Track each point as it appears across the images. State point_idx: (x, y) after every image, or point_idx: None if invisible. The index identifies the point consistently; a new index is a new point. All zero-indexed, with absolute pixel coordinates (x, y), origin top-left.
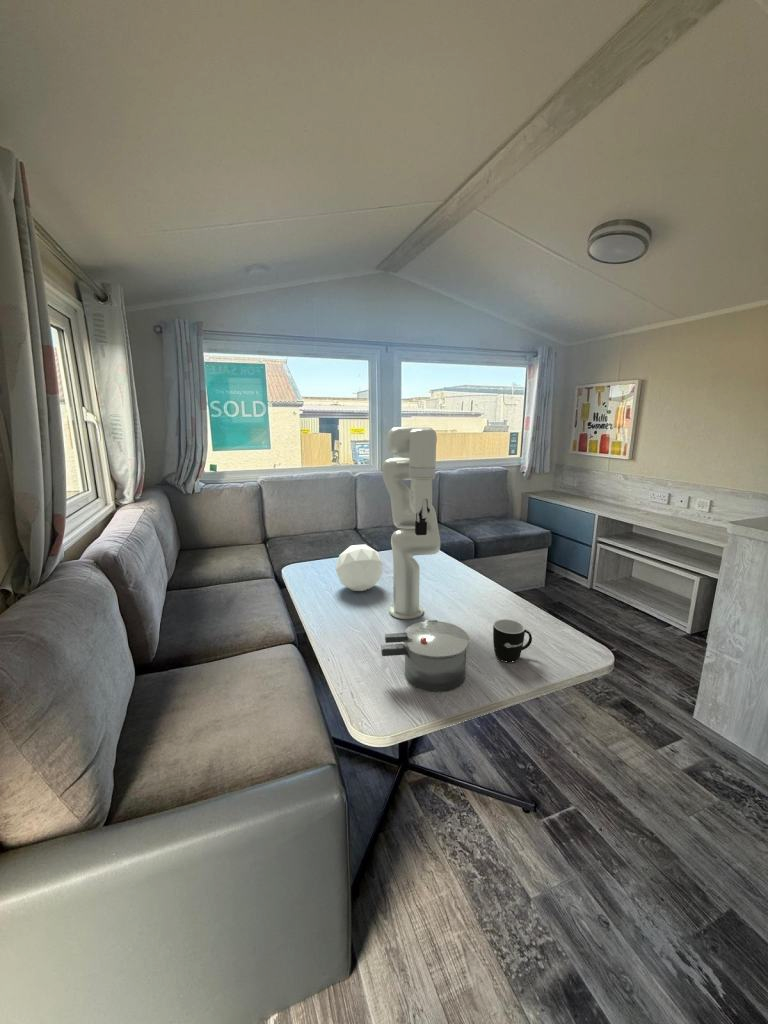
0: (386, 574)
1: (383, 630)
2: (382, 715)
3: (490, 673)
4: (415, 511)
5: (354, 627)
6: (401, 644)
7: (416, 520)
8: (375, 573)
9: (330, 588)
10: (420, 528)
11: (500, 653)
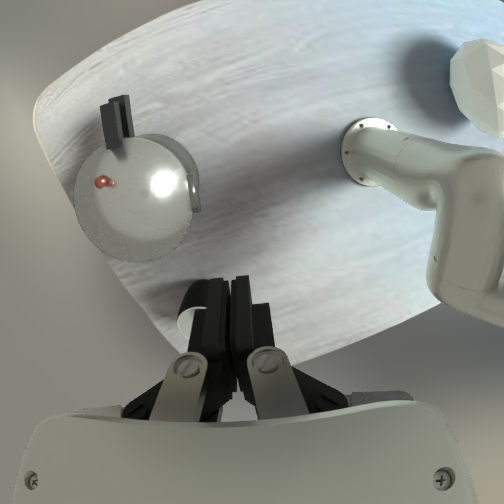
0: (501, 149)
1: (299, 96)
2: (60, 115)
3: (160, 262)
4: (35, 430)
5: (312, 42)
6: (126, 133)
7: (256, 352)
8: (471, 111)
9: (462, 35)
10: (193, 334)
11: (189, 289)
